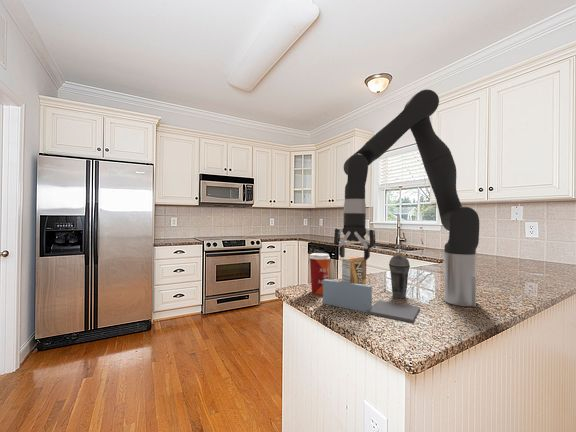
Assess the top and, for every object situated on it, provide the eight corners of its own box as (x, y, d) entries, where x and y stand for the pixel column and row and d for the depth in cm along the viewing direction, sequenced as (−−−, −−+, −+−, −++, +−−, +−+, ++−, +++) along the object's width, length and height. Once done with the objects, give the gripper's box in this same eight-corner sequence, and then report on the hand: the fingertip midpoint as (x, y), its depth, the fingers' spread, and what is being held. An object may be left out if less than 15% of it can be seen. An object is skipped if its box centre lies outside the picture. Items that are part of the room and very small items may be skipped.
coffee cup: (324, 296, 101) (324, 256, 101) (305, 293, 105) (305, 254, 105) (333, 291, 108) (333, 253, 108) (314, 288, 112) (315, 252, 112)
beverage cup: (388, 297, 100) (388, 243, 100) (389, 292, 106) (389, 241, 106) (410, 300, 97) (410, 244, 97) (409, 294, 104) (409, 242, 104)
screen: (371, 310, 86) (371, 285, 86) (369, 312, 84) (369, 286, 84) (325, 302, 95) (325, 279, 95) (322, 303, 93) (322, 280, 93)
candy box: (356, 297, 100) (356, 255, 100) (366, 300, 97) (366, 257, 97) (341, 302, 94) (341, 258, 94) (351, 305, 91) (351, 259, 91)
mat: (419, 309, 87) (419, 307, 87) (413, 322, 76) (413, 319, 76) (378, 302, 94) (378, 300, 94) (367, 313, 84) (367, 310, 84)
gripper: (378, 212, 95) (377, 259, 95) (339, 212, 103) (339, 255, 103) (371, 212, 89) (371, 262, 89) (331, 212, 97) (330, 257, 97)
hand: (353, 258), depth 96 cm, fingers open, 8 cm apart
